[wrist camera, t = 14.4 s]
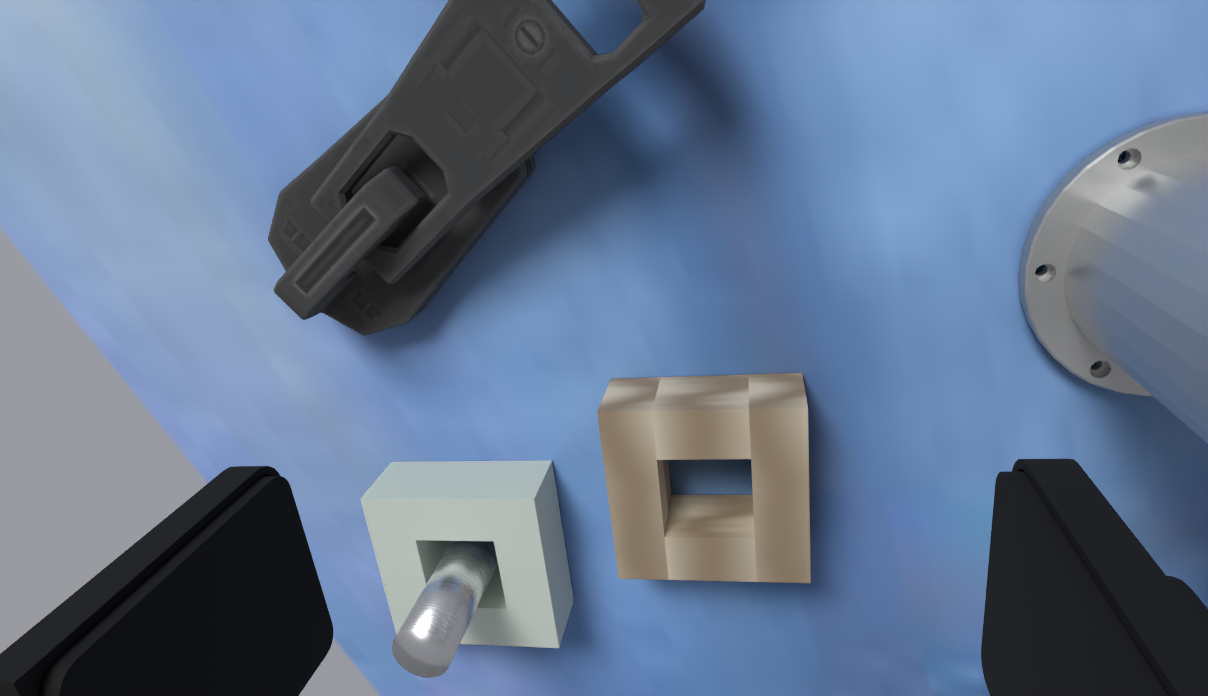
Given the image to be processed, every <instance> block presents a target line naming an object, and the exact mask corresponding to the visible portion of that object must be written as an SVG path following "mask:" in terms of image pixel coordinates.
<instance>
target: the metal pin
mask: <svg viewBox="0 0 1208 696" xmlns="http://www.w3.org/2000/svg"><path fill="white" fill-rule="evenodd" d="M497 564H498V561H497V556H496V551H495V545H494V541H452V542H451V543H450V545H449V547H448V549H447V550H446V552H445V554H444V555H443V557H442V559H441V560H440V562H439V564H438V566H437V567H436V569H435V571H434V572H433V574H432V576H431V577H430V579H429V581H428V583H427V584H426V586H425V588H424V589H423V591H422V593H421V594H420V596H419V598H418V600H417V601H416V603H415V605H414V606H413V608H412V610H411V611H410V613H409V615H408V617H407V618H406V620H405V622H404V623H403V625H402V627H401V628H400V630H399V632H398V634H397V635H396V637H395V639H394V641H393V644H392V651H393V655H394V657H395V659H396V660H397V662H398V663H399V664H400V665H401V666H402V667H403V668H404V669H405V670H407V671H408V672H410V673H412V674H414V675H417V676H421V677H437V676H439V675H441V674H443V673H444V672H446V670H447V669H448V667H449V665H450V663H451V661H452V659H453V657H454V655H455V653H456V651H457V649H458V646H459V644H460V642H461V640H462V638H463V636H464V634H465V632H466V630H467V628H468V625H469V623H470V621H471V619H472V617H473V615H474V613H475V611H476V609H477V606H478V604H479V602H480V600H481V598H482V596H483V594H484V592H485V590H486V587H487V585H488V583H489V581H490V579H491V577H492V575H493V573H494V571H495V569H496V566H497Z"/></svg>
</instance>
